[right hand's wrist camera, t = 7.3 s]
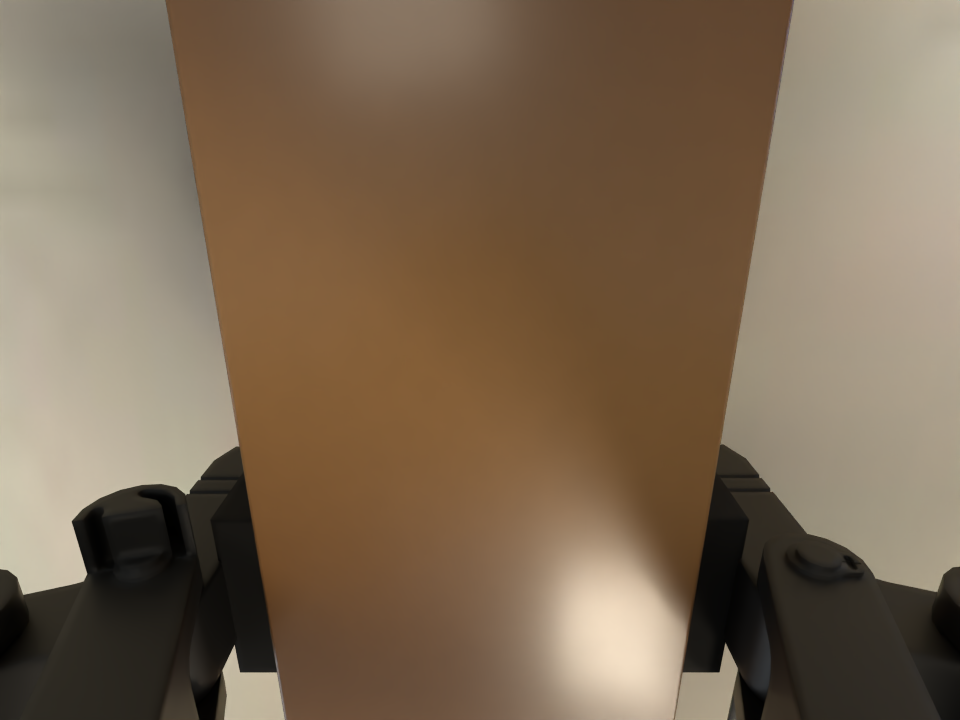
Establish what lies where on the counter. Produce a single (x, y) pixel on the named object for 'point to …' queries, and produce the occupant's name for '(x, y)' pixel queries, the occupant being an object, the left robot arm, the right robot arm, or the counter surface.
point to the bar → (479, 331)
